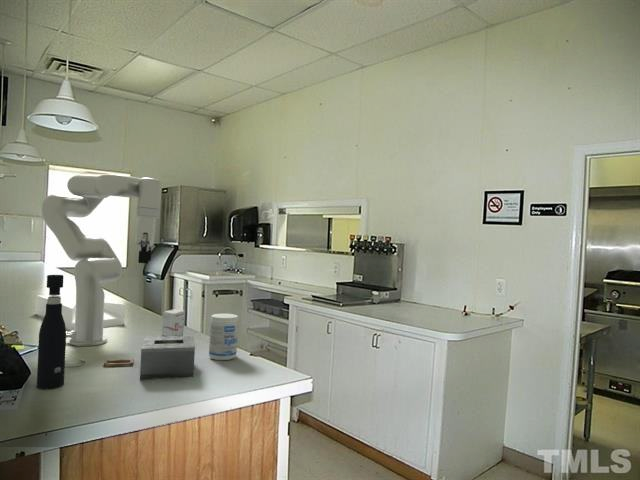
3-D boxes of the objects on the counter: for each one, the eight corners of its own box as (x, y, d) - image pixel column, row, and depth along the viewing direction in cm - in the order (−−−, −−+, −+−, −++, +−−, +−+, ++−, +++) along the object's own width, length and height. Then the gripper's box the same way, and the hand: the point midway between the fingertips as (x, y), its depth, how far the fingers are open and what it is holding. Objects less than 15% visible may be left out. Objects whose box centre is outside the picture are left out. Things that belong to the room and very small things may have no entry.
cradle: (103, 366, 139) (103, 363, 139) (105, 362, 144) (105, 359, 144) (132, 365, 142) (132, 362, 142) (133, 361, 146) (133, 358, 146)
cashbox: (139, 379, 129) (141, 348, 129) (143, 364, 144) (145, 336, 144) (193, 377, 134) (194, 347, 134) (192, 362, 148) (193, 335, 148)
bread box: (35, 314, 214) (36, 295, 214) (84, 310, 230) (85, 292, 230) (71, 331, 184) (72, 308, 184) (124, 325, 201) (125, 304, 201)
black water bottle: (44, 381, 124) (49, 273, 124) (68, 381, 125) (73, 274, 124) (31, 389, 118) (36, 276, 117) (56, 389, 118) (61, 277, 118)
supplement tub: (227, 362, 151) (229, 319, 150) (203, 358, 153) (205, 316, 153) (241, 355, 160) (243, 314, 160) (217, 352, 163) (219, 312, 162)
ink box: (172, 343, 172) (174, 313, 171) (160, 342, 173) (162, 311, 172) (183, 338, 180) (185, 309, 180) (172, 337, 181) (173, 308, 181)
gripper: (139, 212, 164) (136, 259, 165) (133, 212, 148) (130, 263, 148) (161, 214, 167) (157, 260, 167) (157, 214, 150) (154, 264, 150)
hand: (144, 261), depth 158 cm, fingers open, 9 cm apart
